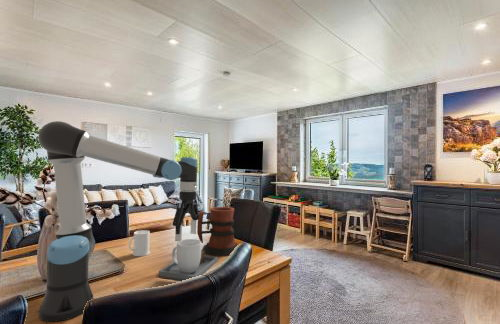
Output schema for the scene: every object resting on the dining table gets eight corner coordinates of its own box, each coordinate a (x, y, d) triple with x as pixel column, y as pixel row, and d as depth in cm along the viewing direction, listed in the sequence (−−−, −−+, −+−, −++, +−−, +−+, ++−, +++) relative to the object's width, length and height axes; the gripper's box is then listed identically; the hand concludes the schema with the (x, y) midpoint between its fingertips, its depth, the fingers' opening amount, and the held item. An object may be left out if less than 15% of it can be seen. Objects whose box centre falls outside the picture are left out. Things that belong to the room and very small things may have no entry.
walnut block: (201, 263, 128) (202, 253, 128) (192, 263, 128) (192, 252, 128) (204, 259, 133) (204, 250, 133) (195, 259, 133) (195, 249, 133)
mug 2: (164, 271, 117) (164, 242, 117) (179, 263, 127) (180, 236, 128) (191, 277, 111) (191, 247, 112) (205, 268, 121) (206, 240, 122)
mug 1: (132, 259, 135) (132, 236, 135) (124, 255, 140) (124, 233, 140) (152, 253, 144) (153, 231, 144) (144, 250, 149) (144, 229, 150)
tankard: (245, 256, 142) (246, 211, 142) (199, 260, 135) (200, 213, 135) (235, 244, 163) (235, 205, 163) (194, 247, 156) (195, 206, 156)
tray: (196, 283, 109) (196, 276, 109) (158, 278, 114) (158, 271, 114) (218, 263, 132) (218, 257, 132) (186, 259, 137) (186, 253, 137)
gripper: (181, 193, 106) (179, 245, 106) (207, 189, 130) (205, 231, 130) (165, 192, 108) (163, 243, 108) (193, 188, 132) (191, 230, 132)
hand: (186, 237), depth 119 cm, fingers open, 13 cm apart
